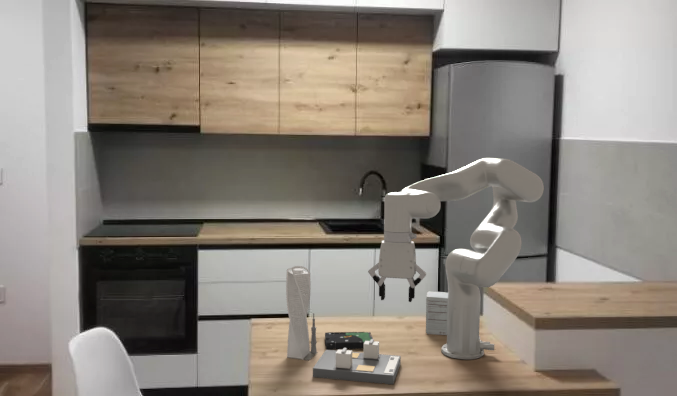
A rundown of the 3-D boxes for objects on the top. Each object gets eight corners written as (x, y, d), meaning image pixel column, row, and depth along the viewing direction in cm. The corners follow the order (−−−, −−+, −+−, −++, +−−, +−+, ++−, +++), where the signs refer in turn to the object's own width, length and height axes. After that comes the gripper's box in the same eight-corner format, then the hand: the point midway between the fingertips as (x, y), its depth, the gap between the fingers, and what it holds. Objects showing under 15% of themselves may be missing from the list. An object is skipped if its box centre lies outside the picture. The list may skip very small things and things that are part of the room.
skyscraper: (307, 363, 188) (307, 268, 185) (281, 359, 191) (281, 265, 188) (317, 353, 196) (317, 262, 193) (292, 350, 199) (292, 260, 196)
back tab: (379, 355, 186) (379, 339, 186) (377, 358, 184) (377, 343, 183) (365, 354, 187) (365, 338, 187) (363, 357, 184) (363, 342, 184)
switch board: (400, 364, 187) (400, 355, 187) (393, 384, 172) (393, 374, 172) (325, 357, 192) (325, 349, 191) (312, 377, 177) (312, 367, 177)
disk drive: (326, 351, 199) (374, 350, 200) (326, 342, 198) (374, 341, 200) (324, 340, 209) (370, 339, 210) (324, 332, 209) (370, 330, 210)
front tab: (352, 364, 179) (352, 348, 178) (350, 368, 176) (350, 352, 176) (338, 363, 180) (338, 347, 179) (335, 367, 177) (335, 350, 176)
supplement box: (426, 327, 221) (427, 290, 220) (448, 328, 220) (449, 292, 219) (425, 334, 214) (425, 296, 213) (447, 335, 213) (448, 297, 211)
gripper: (430, 236, 182) (429, 298, 184) (369, 233, 186) (368, 294, 188) (428, 240, 174) (426, 305, 176) (364, 238, 178) (363, 301, 180)
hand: (396, 299), depth 182 cm, fingers open, 7 cm apart
